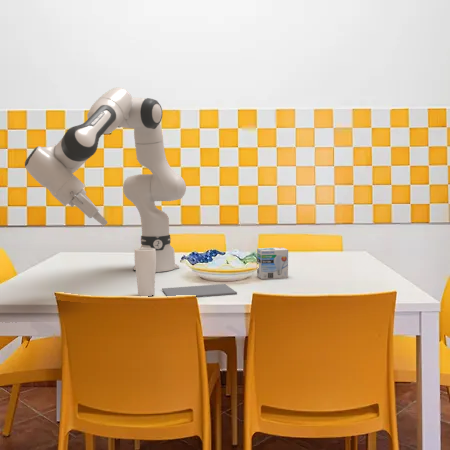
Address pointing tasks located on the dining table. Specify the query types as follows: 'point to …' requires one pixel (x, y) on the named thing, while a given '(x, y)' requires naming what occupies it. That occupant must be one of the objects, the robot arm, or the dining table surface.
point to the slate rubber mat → (200, 290)
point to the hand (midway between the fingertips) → (105, 223)
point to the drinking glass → (145, 270)
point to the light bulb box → (272, 263)
